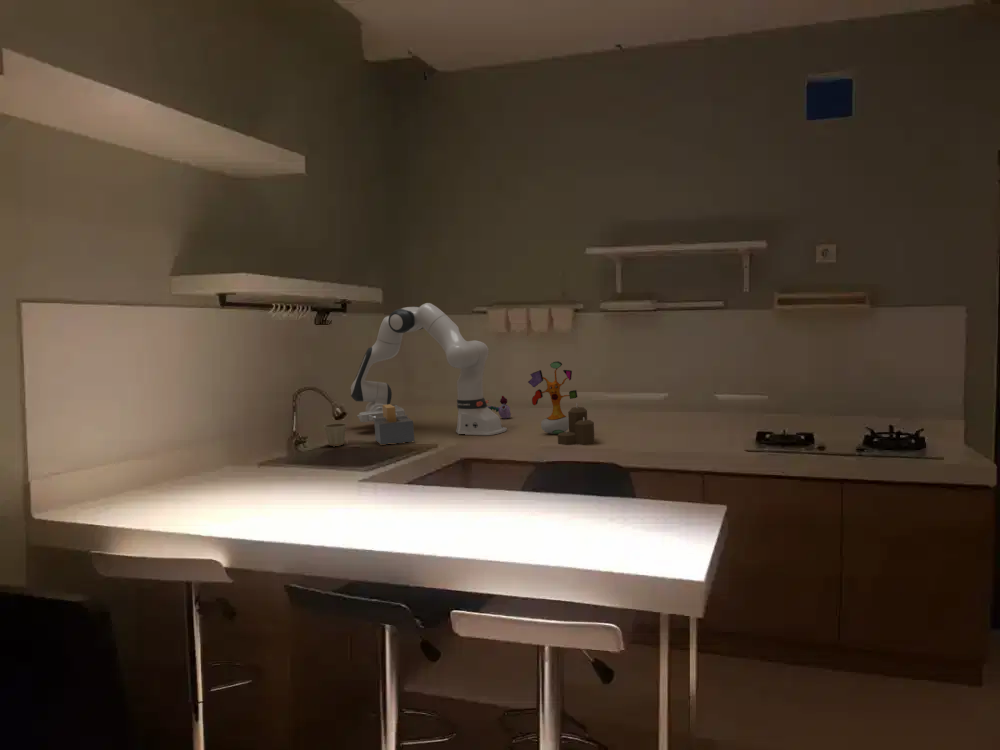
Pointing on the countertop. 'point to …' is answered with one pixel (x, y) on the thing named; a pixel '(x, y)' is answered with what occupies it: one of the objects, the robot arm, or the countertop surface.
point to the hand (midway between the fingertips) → (384, 417)
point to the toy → (502, 408)
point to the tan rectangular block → (389, 413)
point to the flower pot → (335, 433)
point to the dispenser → (394, 430)
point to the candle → (578, 428)
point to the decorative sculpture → (553, 400)
